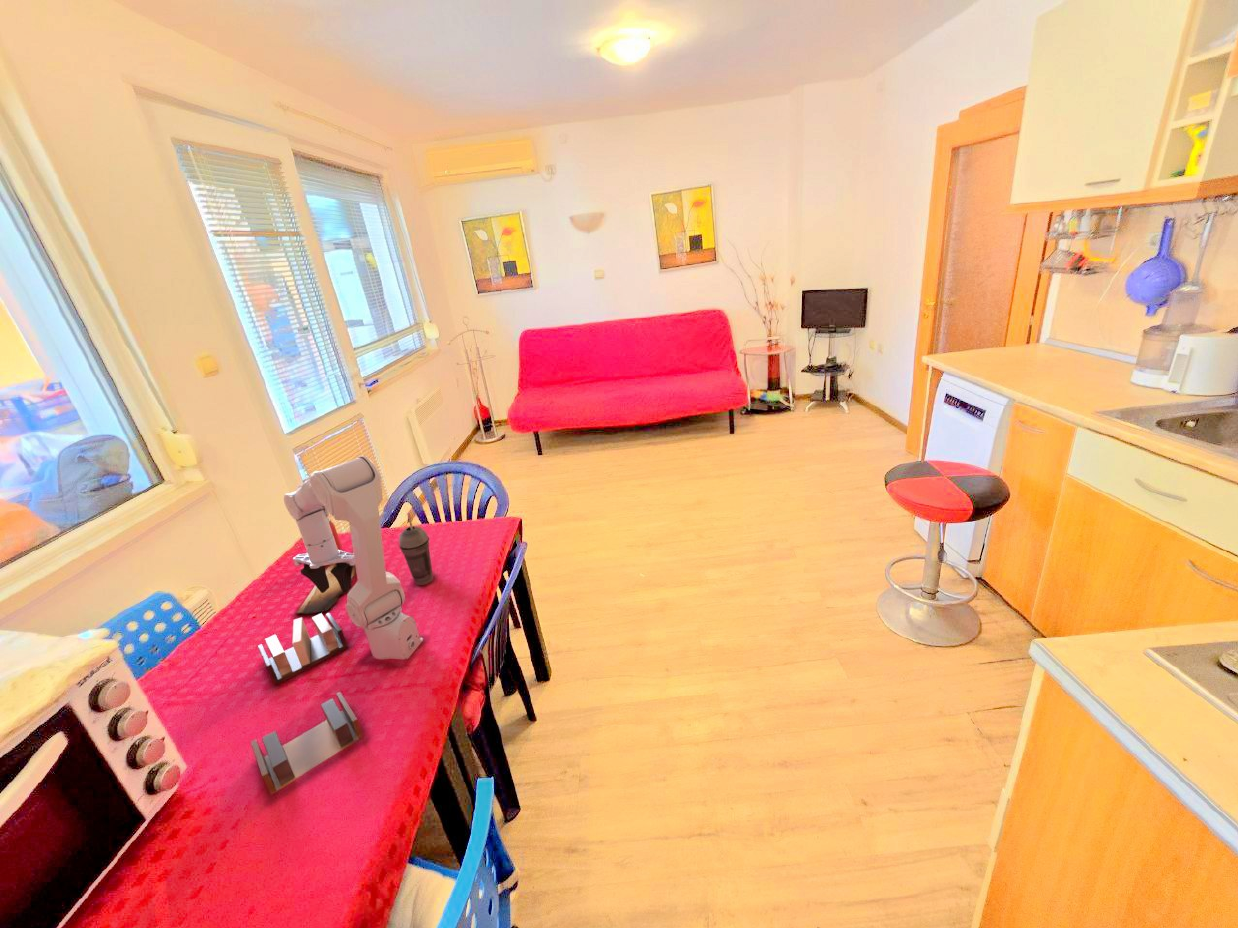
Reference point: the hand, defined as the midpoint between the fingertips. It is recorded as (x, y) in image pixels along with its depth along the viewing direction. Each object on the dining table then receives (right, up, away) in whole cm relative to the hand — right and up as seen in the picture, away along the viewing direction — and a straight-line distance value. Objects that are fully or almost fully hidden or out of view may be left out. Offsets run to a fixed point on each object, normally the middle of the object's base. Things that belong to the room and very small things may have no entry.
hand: (336, 590), depth 116 cm
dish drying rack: (-2, -12, -8) cm, 15 cm away
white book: (-2, -11, -8) cm, 14 cm away
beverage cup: (+14, -2, +16) cm, 22 cm away
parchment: (-10, -3, +17) cm, 20 cm away
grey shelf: (+13, -20, -30) cm, 39 cm away
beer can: (-18, +1, +31) cm, 36 cm away
